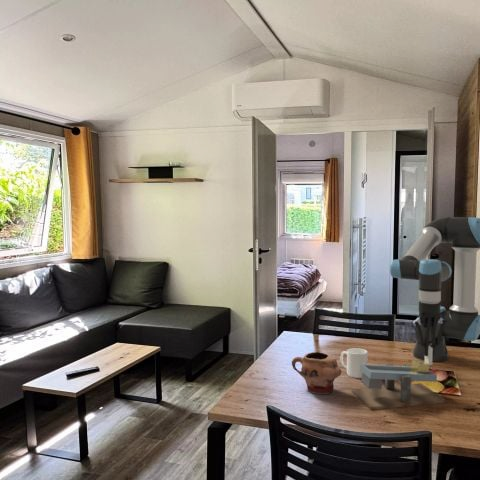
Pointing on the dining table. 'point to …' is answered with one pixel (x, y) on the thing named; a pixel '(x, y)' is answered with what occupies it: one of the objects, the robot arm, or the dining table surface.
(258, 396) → the dining table surface
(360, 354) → the cup
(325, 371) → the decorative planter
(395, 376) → the grey long tray
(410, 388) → the low stand
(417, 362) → the block
